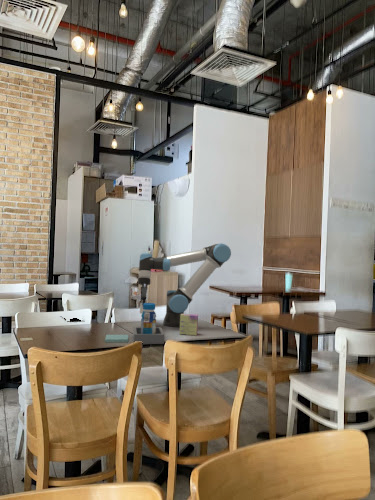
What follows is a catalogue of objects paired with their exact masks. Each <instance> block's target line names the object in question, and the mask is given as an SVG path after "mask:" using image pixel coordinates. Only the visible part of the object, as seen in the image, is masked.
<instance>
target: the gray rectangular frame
mask: <svg viewBox="0 0 375 500" xmlns="http://www.w3.org/2000/svg"><path fill="white" fill-rule="evenodd" d="M132 328H133V332H132V333H133V334H132V337H133V339H132V340H133V343H134V342H135V341H142V342H143V344H142V345H164V344H165V333H164V329H163V328H162V327H160V326H159V327H158V326H156V334H141V326H135V327H134V326H133V327H132Z"/></svg>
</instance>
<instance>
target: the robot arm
mask: <svg viewBox="0 0 375 500" xmlns="http://www.w3.org/2000/svg"><path fill="white" fill-rule="evenodd" d="M230 248H231V247H229V246H228V245H227V244H225V243H223V242H222V243H215V244H212V245H209V246H206V247H205V246H204V247H203V248H202V249H198V250H193V251H188V252H187V251H186V252H183V253H178V254H171V255H166V256H162V257H161V256H160V257H154V256H153V255H152V254H151V253H148V252H147V253H146V252H145V253H144V252H143V253H141V254H139V266H138V267H139V268H138V272H137V274H138V280H137V283H138V284H139V285H141V286H140V301H139V304H140V305H139V314H142V313H143V311H144V310H143V304H144V303H147V293H148V286H149V285H151V278H152V270H156V271H157V270H158V271H169V270H170V269H171V267H172V268H173V267H178V266H182V265H183V266H184V265H188V264H192V263H193V264H194V263H197V262H198V263H199V262H202V264H201V265H200V266H199V267H198V268H197V269H196V271H195V272H194V273H193V274H192V275H191V276H190V278H188V280H187V281H186V283H185V284H184V285H183V286H182V287H178V288H177V289H176V290H173V289H172V290H167V291H166V309H165V310H166V311H165V316H164V317H163V321H162V322H163V323H162V324H163V326H166V327H176V328H177V327H179V328H180V315H181V314H185V311H186V310H187V309H188V307H189V305H190V304H191V302H193V296H194V295H195V294H196V292H198V290H199V289H200V288H201V287H202V285H204V283H205V282H206V281H207V280H208V279H209V278H210V276H211V275H212V274H213V273H214V272H215V270H216V269H217V268H219V269H221V267H222V266H223V265H224V264H225V262H227V261H229V259H230V258H231V256H232V251H231V250H232V249H230Z"/></svg>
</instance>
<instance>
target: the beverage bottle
mask: <svg viewBox="0 0 375 500" xmlns="http://www.w3.org/2000/svg"><path fill="white" fill-rule="evenodd" d="M143 310H144V311H143V313H141V316H140V317H141V319H140V323H141V324H140V327H141V334H156V327H157V319H156V318H157V314H156V312H155V310H156V303H155V302H154V303H152V302H146V303H144V304H143Z"/></svg>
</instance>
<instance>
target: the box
mask: <svg viewBox="0 0 375 500" xmlns="http://www.w3.org/2000/svg"><path fill="white" fill-rule="evenodd" d="M198 326H199V314H195V313H194V314H193V313H184V314H181V315H180V326H179V335H182V334H186V336H198V329H199V328H198Z"/></svg>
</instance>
